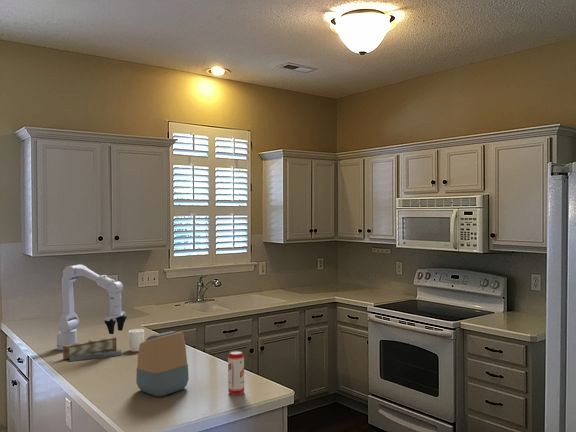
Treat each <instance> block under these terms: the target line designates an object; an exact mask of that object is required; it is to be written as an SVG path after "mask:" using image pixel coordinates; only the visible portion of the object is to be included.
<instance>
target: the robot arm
mask: <svg viewBox="0 0 576 432" xmlns="http://www.w3.org/2000/svg"><path fill="white" fill-rule="evenodd" d="M80 277H85V278H88V279H90V280H92V281H94V282H96V284H97V286H99V287H101V288H103V289H104V290H106V291H107V293H108V296H109V297H108V298H109V314H108V315H107V316H105V317H104V320H103V321H104V324H105V325H106V328H107V331H108V334H109V335H114V333H115V325H116V323H117V326H116V327H117V331H123V329H124V325H125V322H126V319H127V318H128V317H127V315H126V311H123V310H122V292H123V290H124V284H123V282H122V281H120V280H115V279H114V278H113V279H112V278H110V277H108V275H106V274H102V275H101V274H98V273H96V272H95V271H93V270H91V269H90V268H88V267H87V266H86V265H84V264H81V263H78V264H74V265H67V266H65V268H63V269H62V277H61V298H62V299H61V300H62V314H61V316H59V321H58V325H57V326H58V330H59V331H58V332H57V334H56V348H55V350H57V351H58V350H59V351H63V346H66V345H71V344H77V343H78V339H77V335H78V334H77V333H78V328H79V326H80V319H79V315H78V314H77V313H76V312H75V299H74V298H75V297H74V294H75V293H74V282H75V281H76V280H77V279H78V278H80Z"/></svg>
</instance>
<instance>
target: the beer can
mask: <svg viewBox="0 0 576 432" xmlns="http://www.w3.org/2000/svg"><path fill="white" fill-rule="evenodd" d="M227 377H228V380H227V381H228V382H227V383H228V385H227V388H228V393H229V394H230V395H232V396H240V395H242V394H243V393H244V392H245V356H244V354H243V351H241V350H231V351H229V354H228V356H227ZM239 394H240V395H239Z"/></svg>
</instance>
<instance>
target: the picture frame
mask: <svg viewBox="0 0 576 432" xmlns="http://www.w3.org/2000/svg"><path fill="white" fill-rule="evenodd" d="M115 350H118V349H117V337H116V336H112V337H111V336H110V337H106V338H101V339H95V340H88V341H85V342H77V344H71V345H66V346H63V350H62V359H64V360H68V359H69V356H71V355H80V354H89V353H97V352H106V351H115Z"/></svg>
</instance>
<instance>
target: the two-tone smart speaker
mask: <svg viewBox="0 0 576 432" xmlns="http://www.w3.org/2000/svg"><path fill="white" fill-rule="evenodd" d="M184 336H185V335H184V333H183V331H178V332H177V331H176V330H175V331H174V330H171V331H166V332H161V333H158V334H153V335H150V336H148V337H147V338H146V339H145V340H144V342H142V343H140V345H139V351H137V352H138V353H137V366H136V376H135V377H136V379H135V380H136V382H135V383H136V385H137V387H138V389H139V390H141V392H144V393H146V394H149V395H152V396H155V397H158V398H159V397H160V398H161V397H165V396H167V395H169V394H172V393H175V392H178V391H182V390H184V389H185V388H186V386H187V385H188V383H189V363H188V360H187V359H188V357H187V349H186V347H187V346H186V342H185V337H184Z"/></svg>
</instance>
